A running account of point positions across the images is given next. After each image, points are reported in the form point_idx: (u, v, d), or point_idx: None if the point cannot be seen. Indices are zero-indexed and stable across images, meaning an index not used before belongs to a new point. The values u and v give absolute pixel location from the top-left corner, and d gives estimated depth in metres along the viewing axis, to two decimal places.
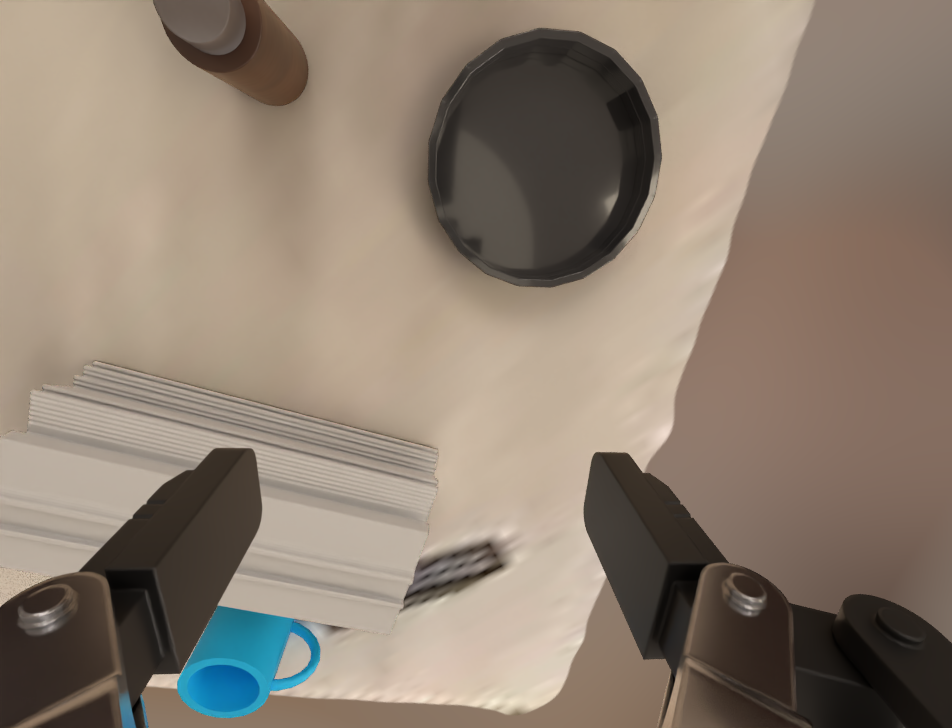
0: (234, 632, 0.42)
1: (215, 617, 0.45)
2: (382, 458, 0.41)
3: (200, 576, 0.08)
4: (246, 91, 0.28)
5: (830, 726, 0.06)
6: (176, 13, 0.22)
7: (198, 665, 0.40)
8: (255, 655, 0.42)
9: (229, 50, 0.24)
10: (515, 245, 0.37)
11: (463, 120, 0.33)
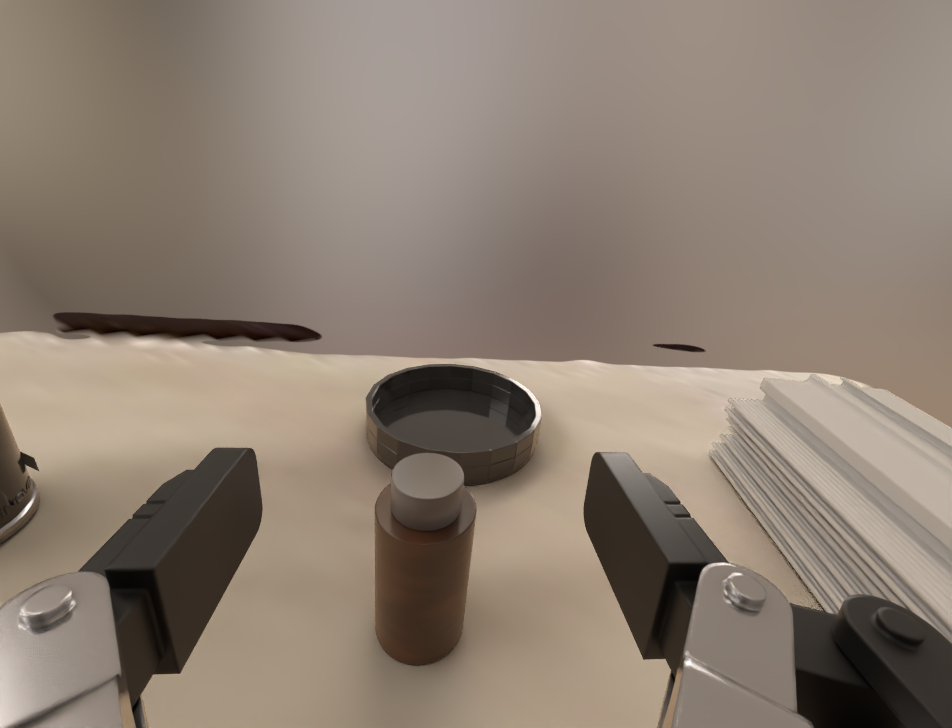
0: None
1: None
2: (751, 465, 0.40)
3: (201, 575, 0.08)
4: None
5: (830, 726, 0.06)
6: (443, 482, 0.21)
7: None
8: None
9: None
10: (509, 429, 0.46)
11: None
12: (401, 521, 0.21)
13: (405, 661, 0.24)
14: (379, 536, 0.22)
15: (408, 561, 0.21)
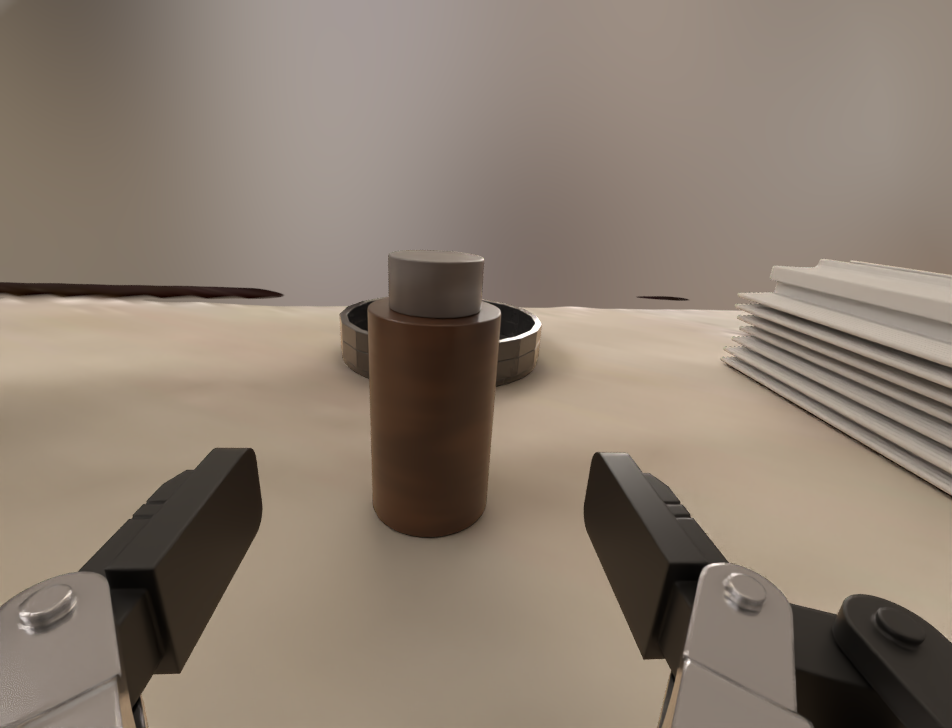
0: None
1: None
2: (774, 354, 0.37)
3: (200, 576, 0.08)
4: None
5: (830, 726, 0.06)
6: (458, 258, 0.16)
7: None
8: None
9: None
10: None
11: None
12: (406, 309, 0.16)
13: (418, 532, 0.18)
14: (376, 336, 0.16)
15: (419, 357, 0.15)
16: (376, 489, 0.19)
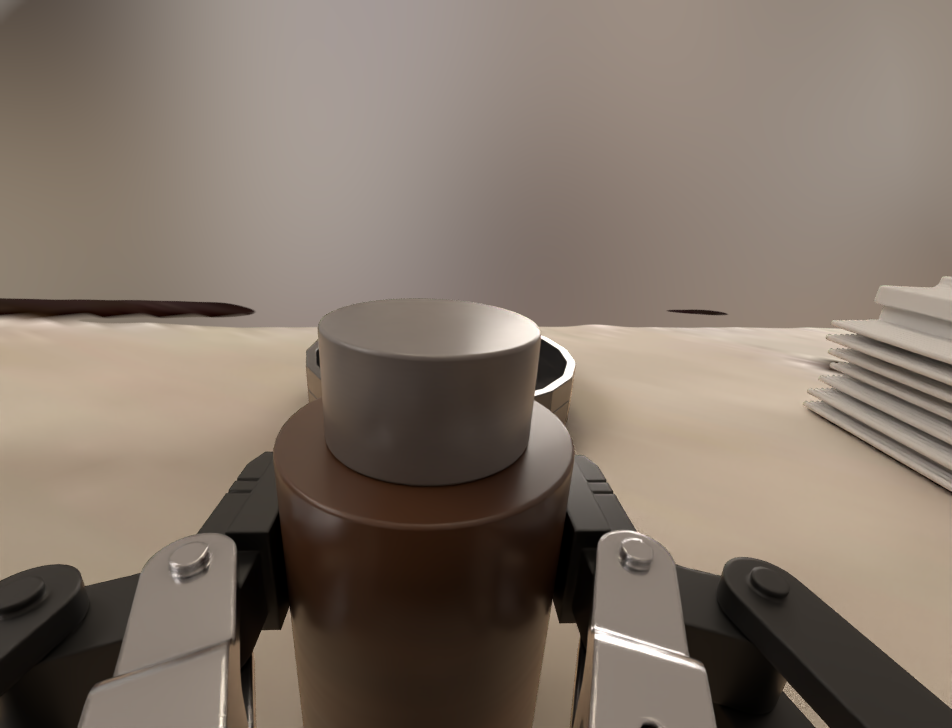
0: None
1: None
2: (890, 406, 0.27)
3: None
4: None
5: (708, 674, 0.07)
6: (483, 332, 0.07)
7: None
8: None
9: None
10: None
11: None
12: (356, 462, 0.06)
13: None
14: (286, 522, 0.07)
15: (385, 598, 0.06)
16: None
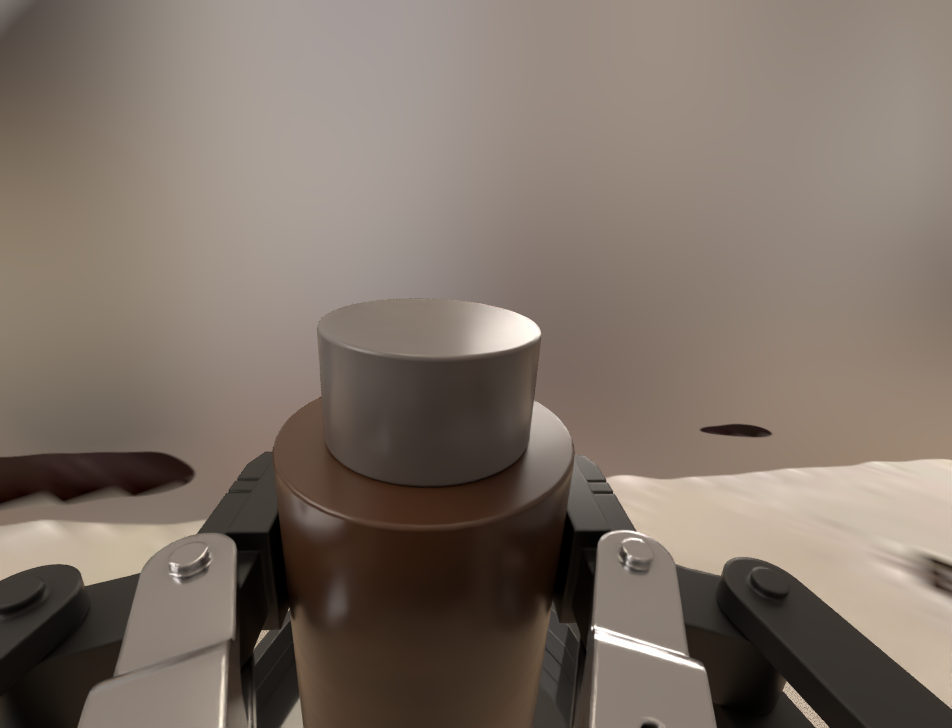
0: None
1: None
2: None
3: None
4: None
5: (707, 675, 0.07)
6: (483, 332, 0.07)
7: None
8: None
9: None
10: None
11: None
12: (355, 462, 0.06)
13: None
14: (286, 523, 0.07)
15: (385, 598, 0.06)
16: None
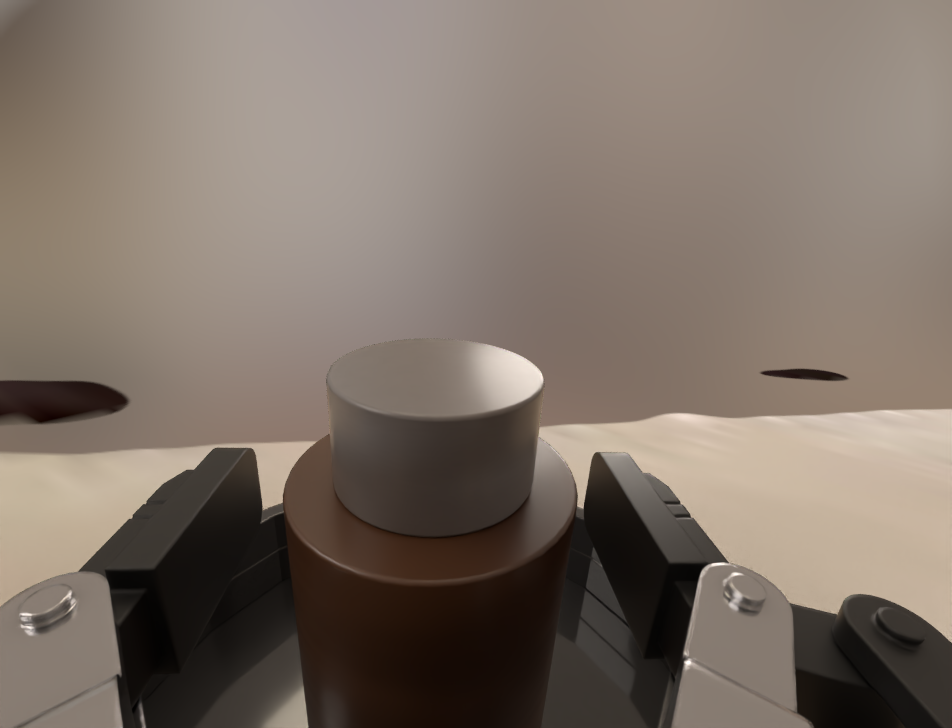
0: None
1: None
2: None
3: (200, 576, 0.08)
4: None
5: (830, 726, 0.06)
6: (487, 382, 0.07)
7: None
8: None
9: None
10: None
11: None
12: (364, 513, 0.07)
13: None
14: (296, 570, 0.07)
15: (393, 648, 0.06)
16: None
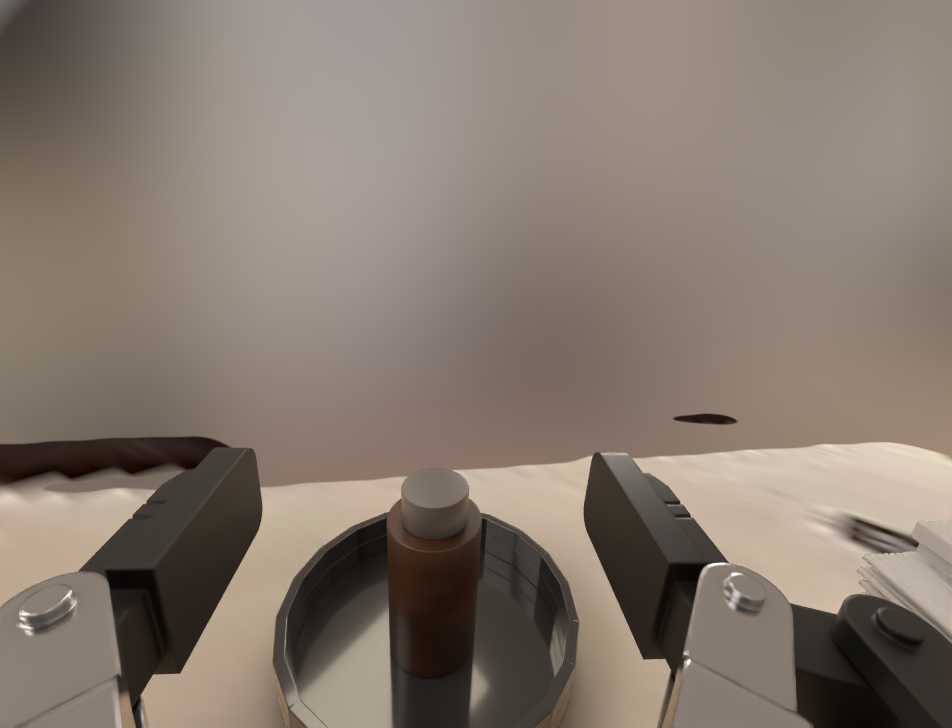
0: None
1: None
2: None
3: (201, 575, 0.08)
4: None
5: (830, 726, 0.06)
6: (450, 492, 0.23)
7: None
8: None
9: None
10: (523, 629, 0.28)
11: None
12: (414, 533, 0.23)
13: (423, 675, 0.25)
14: (393, 550, 0.23)
15: (423, 570, 0.22)
16: (392, 640, 0.25)
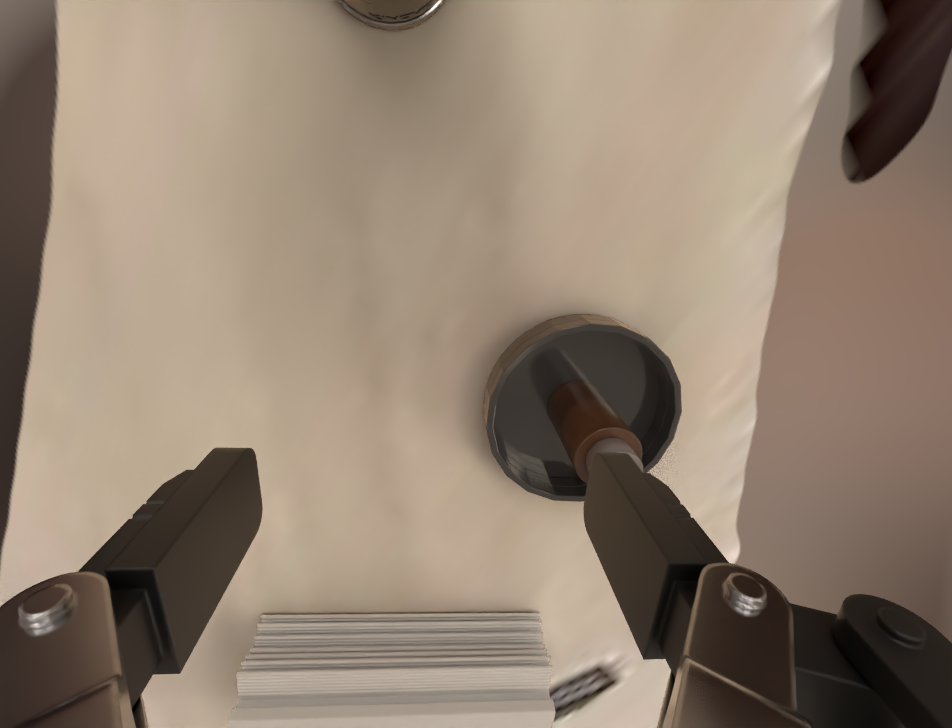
0: None
1: None
2: (498, 638, 0.48)
3: (201, 576, 0.08)
4: None
5: (830, 726, 0.06)
6: None
7: None
8: None
9: None
10: (569, 458, 0.43)
11: (506, 387, 0.40)
12: (592, 447, 0.32)
13: (548, 401, 0.41)
14: (589, 428, 0.33)
15: (571, 443, 0.34)
16: (568, 389, 0.39)
